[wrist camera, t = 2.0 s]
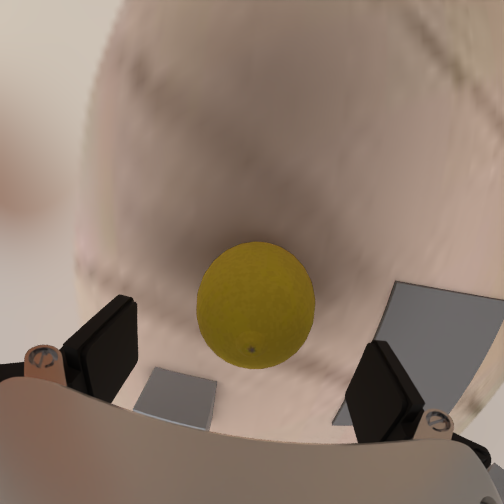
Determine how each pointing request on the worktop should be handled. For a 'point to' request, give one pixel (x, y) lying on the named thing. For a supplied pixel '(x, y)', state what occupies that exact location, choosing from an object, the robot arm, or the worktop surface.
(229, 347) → the lemon
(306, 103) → the worktop surface
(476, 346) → the mat
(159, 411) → the slate block
